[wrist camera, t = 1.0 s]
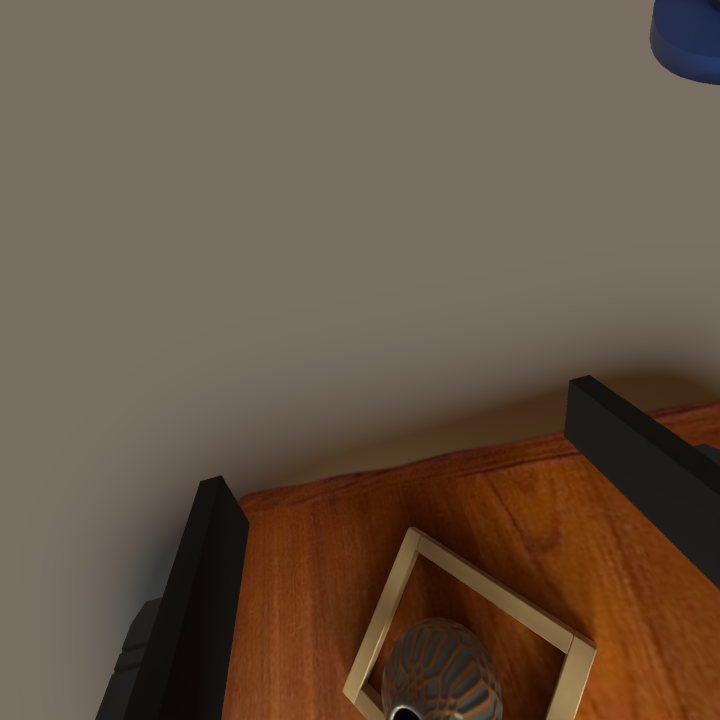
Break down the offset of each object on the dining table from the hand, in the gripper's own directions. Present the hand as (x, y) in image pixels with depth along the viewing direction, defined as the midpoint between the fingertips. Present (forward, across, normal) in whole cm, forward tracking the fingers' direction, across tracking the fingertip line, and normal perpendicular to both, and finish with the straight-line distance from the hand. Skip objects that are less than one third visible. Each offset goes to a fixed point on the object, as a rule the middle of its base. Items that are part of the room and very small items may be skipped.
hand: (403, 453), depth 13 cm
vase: (+1, +1, -22) cm, 22 cm away
